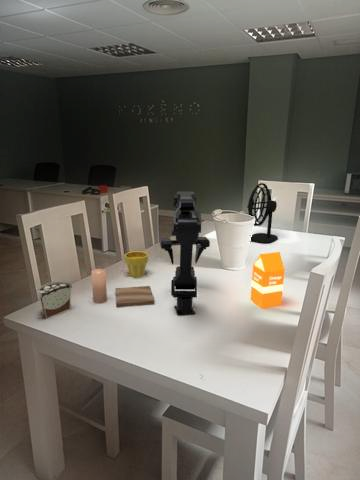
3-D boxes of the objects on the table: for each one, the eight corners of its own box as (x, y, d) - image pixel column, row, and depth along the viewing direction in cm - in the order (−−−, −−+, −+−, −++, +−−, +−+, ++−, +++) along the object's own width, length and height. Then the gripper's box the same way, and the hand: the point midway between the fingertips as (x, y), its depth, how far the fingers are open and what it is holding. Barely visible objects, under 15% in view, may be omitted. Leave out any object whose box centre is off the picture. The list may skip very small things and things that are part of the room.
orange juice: (250, 300, 134) (253, 251, 129) (269, 296, 137) (273, 248, 132) (261, 309, 127) (265, 257, 122) (281, 305, 130) (286, 255, 125)
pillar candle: (107, 302, 130) (105, 273, 127) (92, 303, 129) (91, 273, 126) (107, 296, 135) (105, 268, 132) (93, 297, 134) (91, 268, 131)
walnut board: (154, 304, 130) (154, 300, 129) (116, 307, 127) (116, 303, 126) (149, 289, 143) (149, 285, 142) (115, 291, 140) (115, 288, 140)
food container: (64, 302, 130) (62, 278, 127) (73, 307, 126) (71, 282, 123) (33, 314, 121) (30, 288, 118) (42, 320, 117) (39, 293, 114)
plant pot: (142, 280, 152) (141, 259, 149) (121, 277, 155) (120, 256, 152) (151, 272, 161) (151, 252, 158) (131, 269, 164) (131, 249, 162)
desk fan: (257, 232, 235) (261, 180, 225) (282, 236, 225) (288, 182, 215) (239, 241, 214) (242, 184, 204) (265, 246, 204) (271, 186, 194)
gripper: (203, 219, 140) (202, 256, 144) (158, 220, 137) (158, 258, 141) (210, 226, 130) (209, 265, 134) (161, 227, 126) (161, 267, 131)
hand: (184, 263), depth 135 cm, fingers open, 9 cm apart
